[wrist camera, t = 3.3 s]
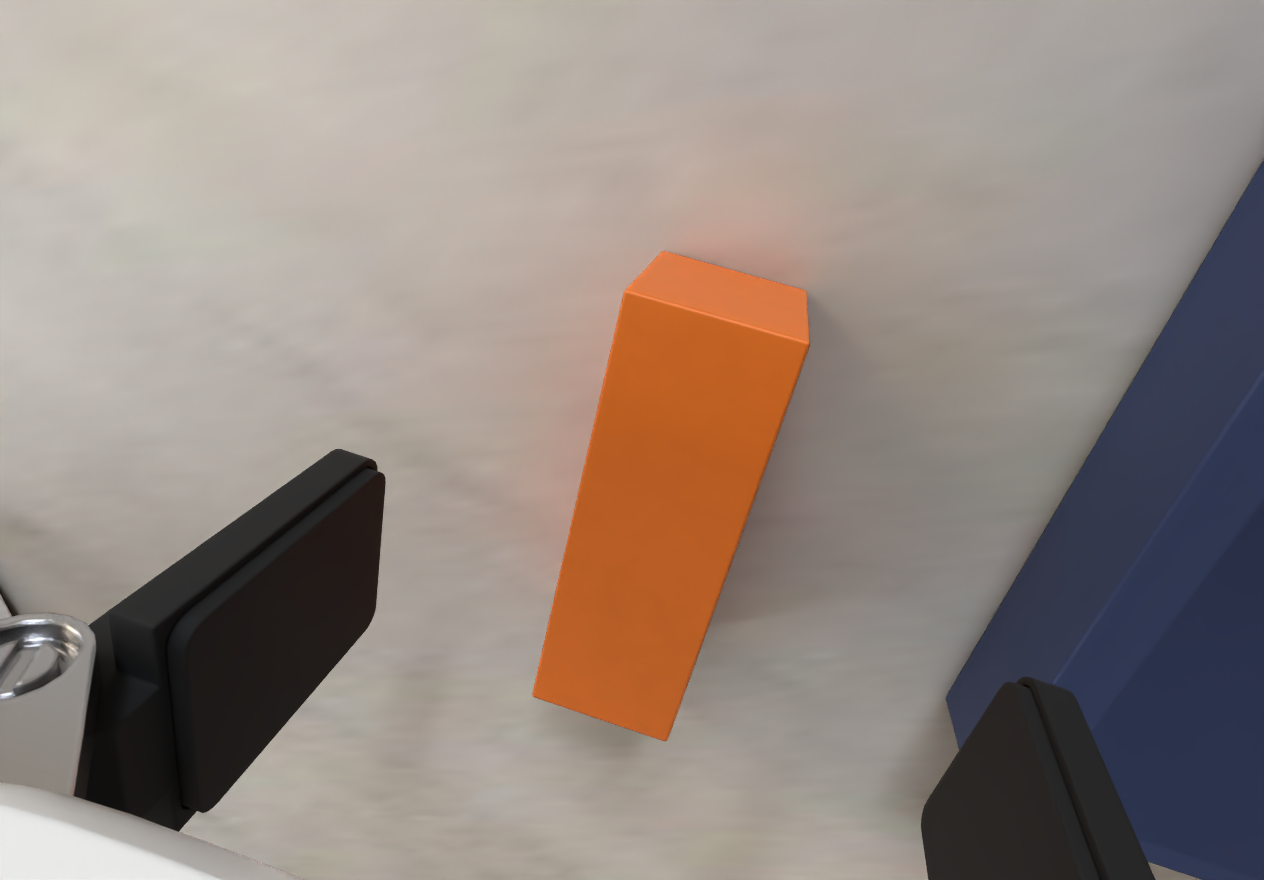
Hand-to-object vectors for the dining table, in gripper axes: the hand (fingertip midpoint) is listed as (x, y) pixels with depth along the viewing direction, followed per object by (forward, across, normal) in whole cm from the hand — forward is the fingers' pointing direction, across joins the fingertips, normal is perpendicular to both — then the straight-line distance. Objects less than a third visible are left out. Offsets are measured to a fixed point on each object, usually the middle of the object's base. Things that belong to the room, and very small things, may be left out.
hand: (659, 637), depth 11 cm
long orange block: (+6, +1, 0) cm, 6 cm away
